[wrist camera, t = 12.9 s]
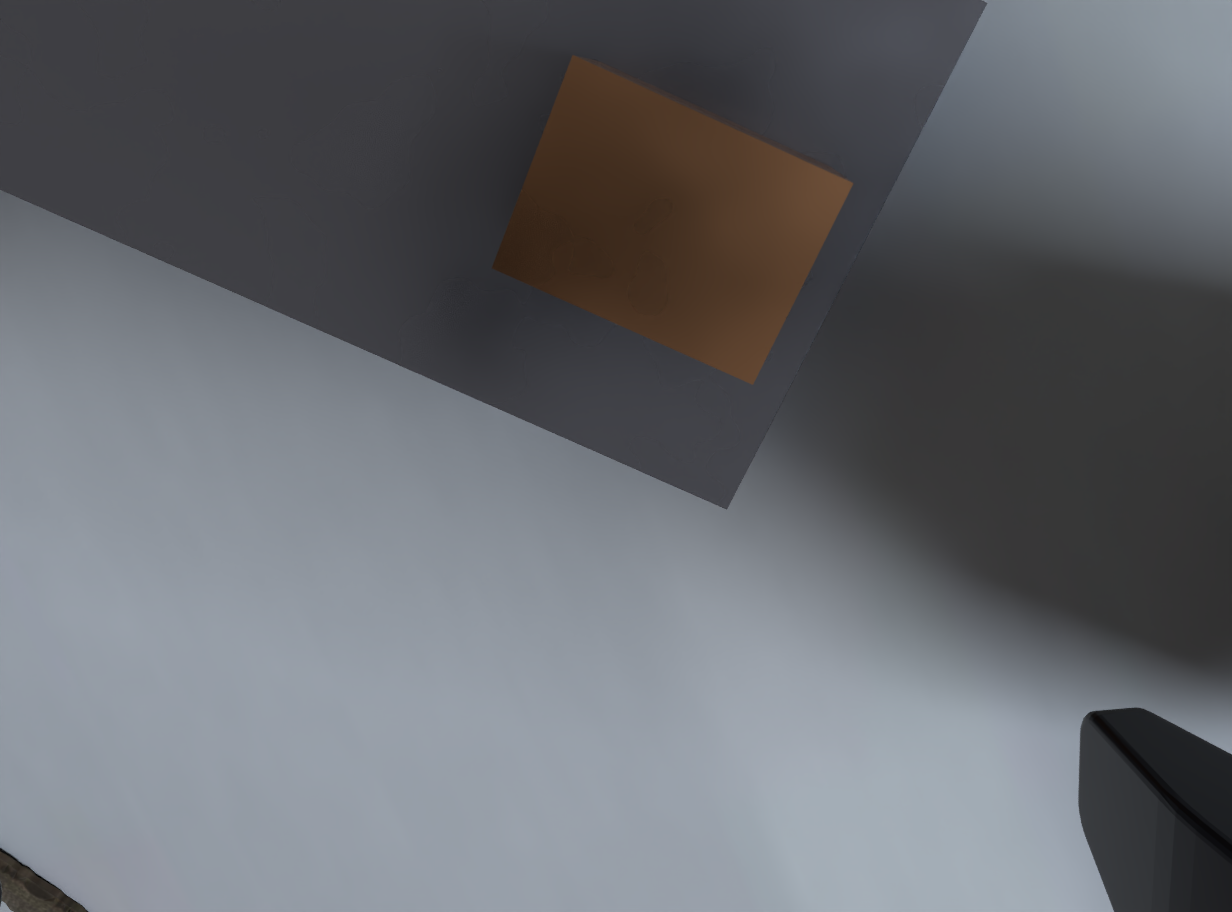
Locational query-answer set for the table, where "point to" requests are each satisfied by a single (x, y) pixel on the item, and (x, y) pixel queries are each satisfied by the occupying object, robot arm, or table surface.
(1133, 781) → the robot arm
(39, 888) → the bar clamp
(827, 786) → the table surface
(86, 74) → the plane body
